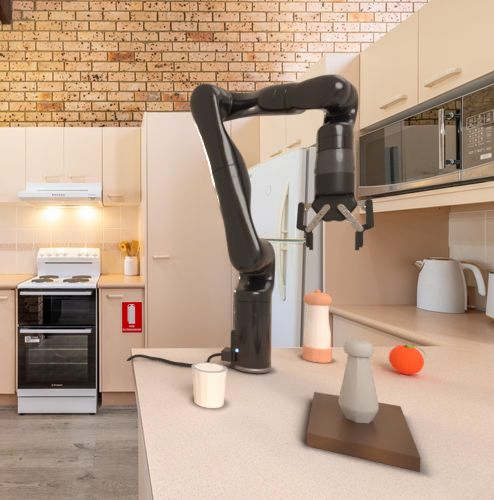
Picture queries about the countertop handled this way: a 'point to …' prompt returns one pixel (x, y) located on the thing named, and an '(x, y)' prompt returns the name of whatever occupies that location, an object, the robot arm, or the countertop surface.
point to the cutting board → (362, 433)
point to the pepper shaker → (317, 328)
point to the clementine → (406, 359)
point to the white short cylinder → (209, 384)
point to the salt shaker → (358, 383)
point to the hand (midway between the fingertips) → (333, 250)
